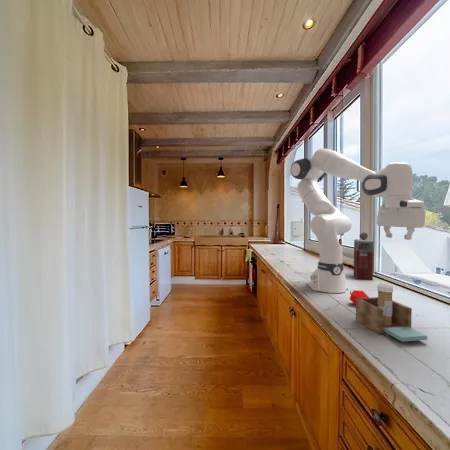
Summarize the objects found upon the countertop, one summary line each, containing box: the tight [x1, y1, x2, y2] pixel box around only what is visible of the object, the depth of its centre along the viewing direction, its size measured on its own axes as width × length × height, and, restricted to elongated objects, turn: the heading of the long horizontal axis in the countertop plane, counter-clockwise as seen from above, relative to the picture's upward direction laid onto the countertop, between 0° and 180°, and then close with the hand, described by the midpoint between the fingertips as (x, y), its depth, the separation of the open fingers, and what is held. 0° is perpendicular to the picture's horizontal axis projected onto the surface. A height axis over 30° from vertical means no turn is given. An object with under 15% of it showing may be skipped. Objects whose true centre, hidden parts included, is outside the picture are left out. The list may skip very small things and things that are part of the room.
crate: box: [355, 296, 413, 335], centre depth 90 cm, size 12×11×8 cm
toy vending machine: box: [353, 231, 374, 281], centre depth 158 cm, size 9×11×28 cm
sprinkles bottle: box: [377, 283, 394, 326], centre depth 90 cm, size 5×5×13 cm
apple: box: [349, 289, 370, 306], centre depth 112 cm, size 7×7×8 cm
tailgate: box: [384, 326, 428, 342], centre depth 81 cm, size 1×8×7 cm
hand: (398, 238), depth 104 cm, fingers open, 8 cm apart
